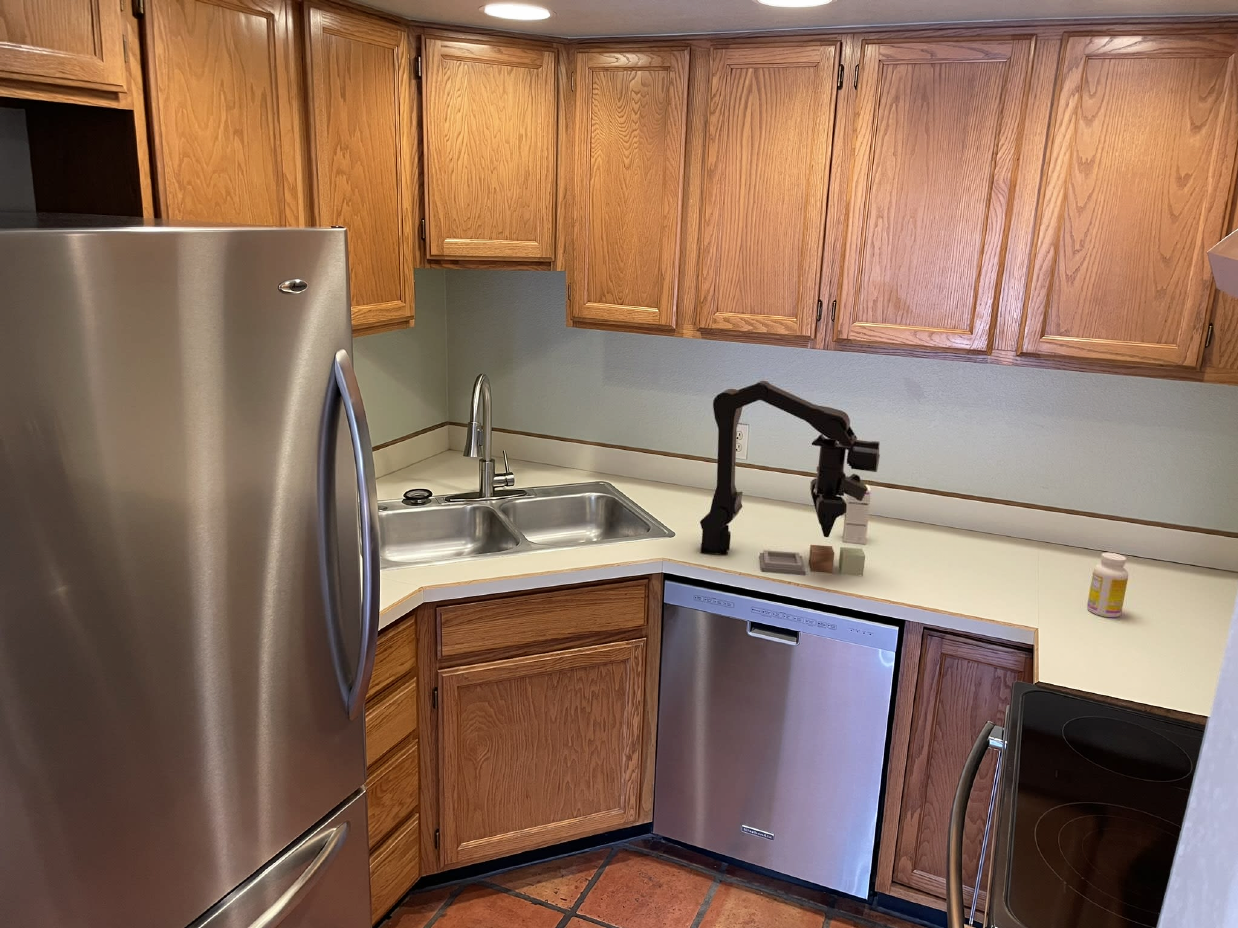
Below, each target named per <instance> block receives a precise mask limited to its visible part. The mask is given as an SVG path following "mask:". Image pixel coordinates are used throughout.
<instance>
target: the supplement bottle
mask: <svg viewBox="0 0 1238 928" xmlns="http://www.w3.org/2000/svg"><path fill="white" fill-rule="evenodd" d="M1100 556H1101V557H1100V563H1098V564H1096V565H1095V566H1094V567H1093V571H1092V576H1091V581H1090V587H1089V593H1088V597H1087V603H1086V604H1087V605H1086V608H1087V610H1088V611H1089V612H1091V613H1093V614H1094V615H1097V616H1100V617H1105V618H1117V617H1120V616H1121V614H1122V611H1123V606H1124V603H1125V596H1126V591H1127V585H1128V580H1129V571H1128V570H1127V569H1126V568H1125V565H1126V564H1127V558H1126V556H1124V555H1121V554H1118V553H1114V552H1103V553H1101V555H1100Z"/></svg>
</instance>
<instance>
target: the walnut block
mask: <svg viewBox="0 0 1238 928" xmlns="http://www.w3.org/2000/svg"><path fill="white" fill-rule="evenodd" d="M809 546H810V548H809V553H808V554H809V555H808V568H809V571H810V572H811V573H821V574H822V573H823V574H833V570H834V561H835V551H834V549H833V546H831V545H819V544H810V545H809Z"/></svg>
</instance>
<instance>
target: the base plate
mask: <svg viewBox="0 0 1238 928" xmlns="http://www.w3.org/2000/svg"><path fill="white" fill-rule="evenodd" d="M759 565H760V571H761V572H764V573H775V574H787V575H790V574H791V575H800V576H803V575H804V576H806V567H805V564H804V560H803V556H802V555H800V552H795V551H794V552H793V551H782V550H768V549H767V550H766V549H763V552H759Z"/></svg>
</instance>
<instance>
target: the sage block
mask: <svg viewBox="0 0 1238 928" xmlns="http://www.w3.org/2000/svg"><path fill="white" fill-rule="evenodd" d="M865 561H866V555H865V552H864V549H863V548H859V547H847V546H846V547H845V546H840V549H839V559H838V565H837V567H838V569H839V572H840V574H841V575H847V576H858V575H862V576H861V577H863V576H864V570H865V569H864V568H865Z"/></svg>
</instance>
